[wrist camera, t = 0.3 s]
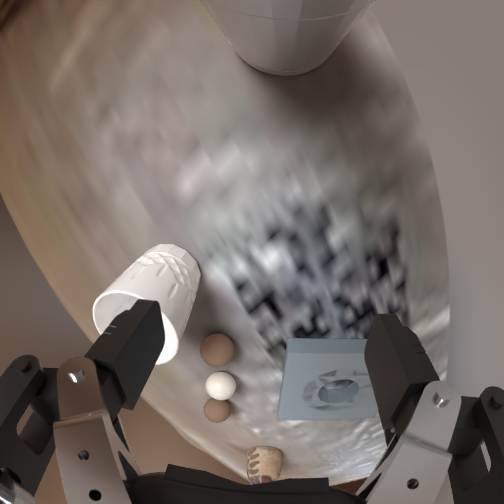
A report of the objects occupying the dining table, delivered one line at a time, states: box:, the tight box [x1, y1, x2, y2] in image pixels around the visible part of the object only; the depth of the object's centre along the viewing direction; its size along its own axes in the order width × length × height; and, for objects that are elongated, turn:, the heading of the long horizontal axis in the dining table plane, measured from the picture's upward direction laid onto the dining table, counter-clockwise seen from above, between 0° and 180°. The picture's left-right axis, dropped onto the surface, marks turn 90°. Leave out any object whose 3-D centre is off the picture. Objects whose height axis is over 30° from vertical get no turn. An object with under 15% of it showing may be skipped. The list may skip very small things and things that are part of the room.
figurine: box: [247, 446, 283, 485], centre depth 42 cm, size 7×7×12 cm
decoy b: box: [204, 398, 230, 422], centre depth 38 cm, size 4×4×4 cm
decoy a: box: [200, 333, 235, 367], centre depth 32 cm, size 4×4×4 cm
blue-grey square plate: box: [277, 338, 378, 420], centre depth 34 cm, size 15×15×2 cm
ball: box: [206, 372, 236, 400], centre depth 35 cm, size 4×4×4 cm
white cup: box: [93, 244, 201, 365], centre depth 25 cm, size 8×8×10 cm
